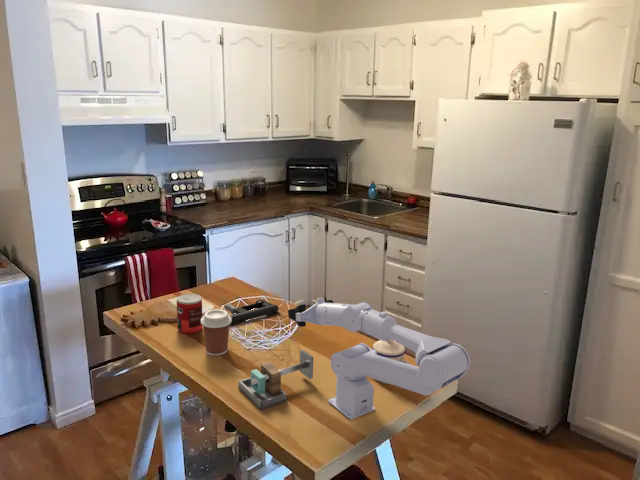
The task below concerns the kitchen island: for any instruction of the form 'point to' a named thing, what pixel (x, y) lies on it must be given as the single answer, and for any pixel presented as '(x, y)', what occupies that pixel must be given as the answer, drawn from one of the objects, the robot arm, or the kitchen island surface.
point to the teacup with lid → (390, 351)
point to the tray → (263, 399)
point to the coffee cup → (216, 331)
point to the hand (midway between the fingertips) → (300, 311)
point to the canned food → (189, 313)
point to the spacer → (261, 382)
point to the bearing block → (271, 378)
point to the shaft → (296, 367)
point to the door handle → (251, 311)
